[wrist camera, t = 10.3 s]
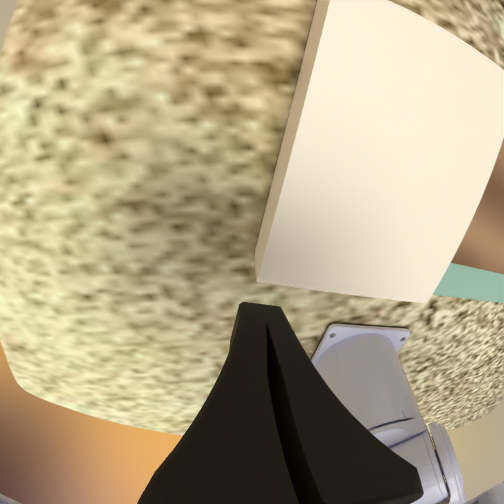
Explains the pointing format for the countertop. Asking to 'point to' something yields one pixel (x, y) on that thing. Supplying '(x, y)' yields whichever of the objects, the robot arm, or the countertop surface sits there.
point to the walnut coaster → (486, 226)
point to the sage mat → (471, 284)
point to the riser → (380, 155)
